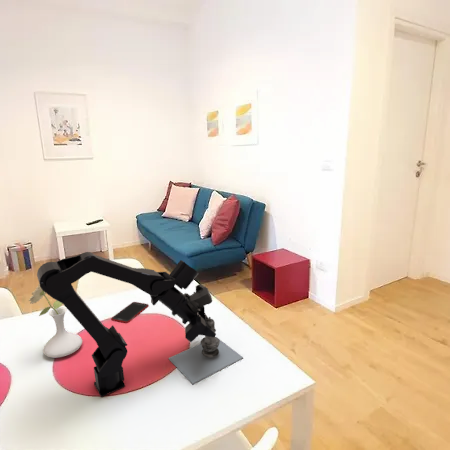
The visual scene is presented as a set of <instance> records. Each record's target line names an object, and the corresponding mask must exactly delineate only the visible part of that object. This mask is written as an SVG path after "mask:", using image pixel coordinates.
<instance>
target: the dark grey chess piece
mask: <svg viewBox="0 0 450 450" xmlns="http://www.w3.org/2000/svg"><path fill="white" fill-rule="evenodd" d="M208 318H209V319H207V320H206V323H207V324H208V325H209V327H210V328H211V329H212V330H213V331H214V332H215V333H216V332H217V329H216V327H215V326H216V325H215V324H216V323H215V320H214V319H213V318H211V316H209V317H208ZM219 339H220V338H218V336H215V337H210V336H203V338H202V339H200V342H199V344H201V345H202V347H203V350H202V354H203V355H204V356H205V357H215V356H217V355H218V353H219V350H218V349H217V348H218V346H219V343H220V340H221V339H220V340H219Z"/></svg>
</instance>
